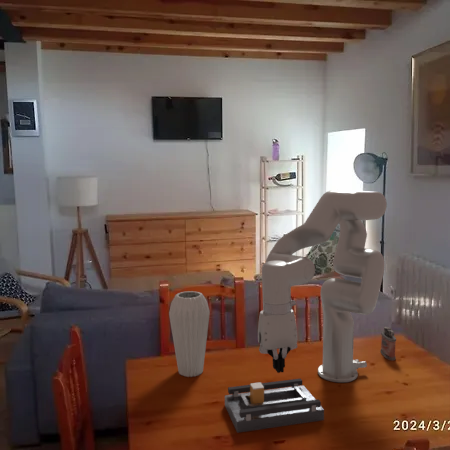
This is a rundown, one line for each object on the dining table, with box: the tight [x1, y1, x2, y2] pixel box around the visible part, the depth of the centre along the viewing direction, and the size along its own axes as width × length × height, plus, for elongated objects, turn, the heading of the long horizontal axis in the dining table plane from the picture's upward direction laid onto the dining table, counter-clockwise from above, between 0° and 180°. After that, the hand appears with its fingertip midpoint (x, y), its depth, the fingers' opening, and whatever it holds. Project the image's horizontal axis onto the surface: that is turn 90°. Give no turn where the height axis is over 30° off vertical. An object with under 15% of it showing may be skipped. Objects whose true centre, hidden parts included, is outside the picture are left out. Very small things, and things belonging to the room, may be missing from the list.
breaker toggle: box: [249, 381, 264, 404], centre depth 127 cm, size 3×3×5 cm
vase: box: [168, 290, 211, 378], centre depth 153 cm, size 13×13×26 cm
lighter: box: [380, 326, 397, 361], centre depth 165 cm, size 8×3×10 cm, turn 6°
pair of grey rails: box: [227, 378, 322, 421], centre depth 128 cm, size 22×14×2 cm, turn 103°
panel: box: [224, 384, 325, 434], centre depth 128 cm, size 24×14×5 cm, turn 103°
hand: (279, 370), depth 128 cm, fingers closed
